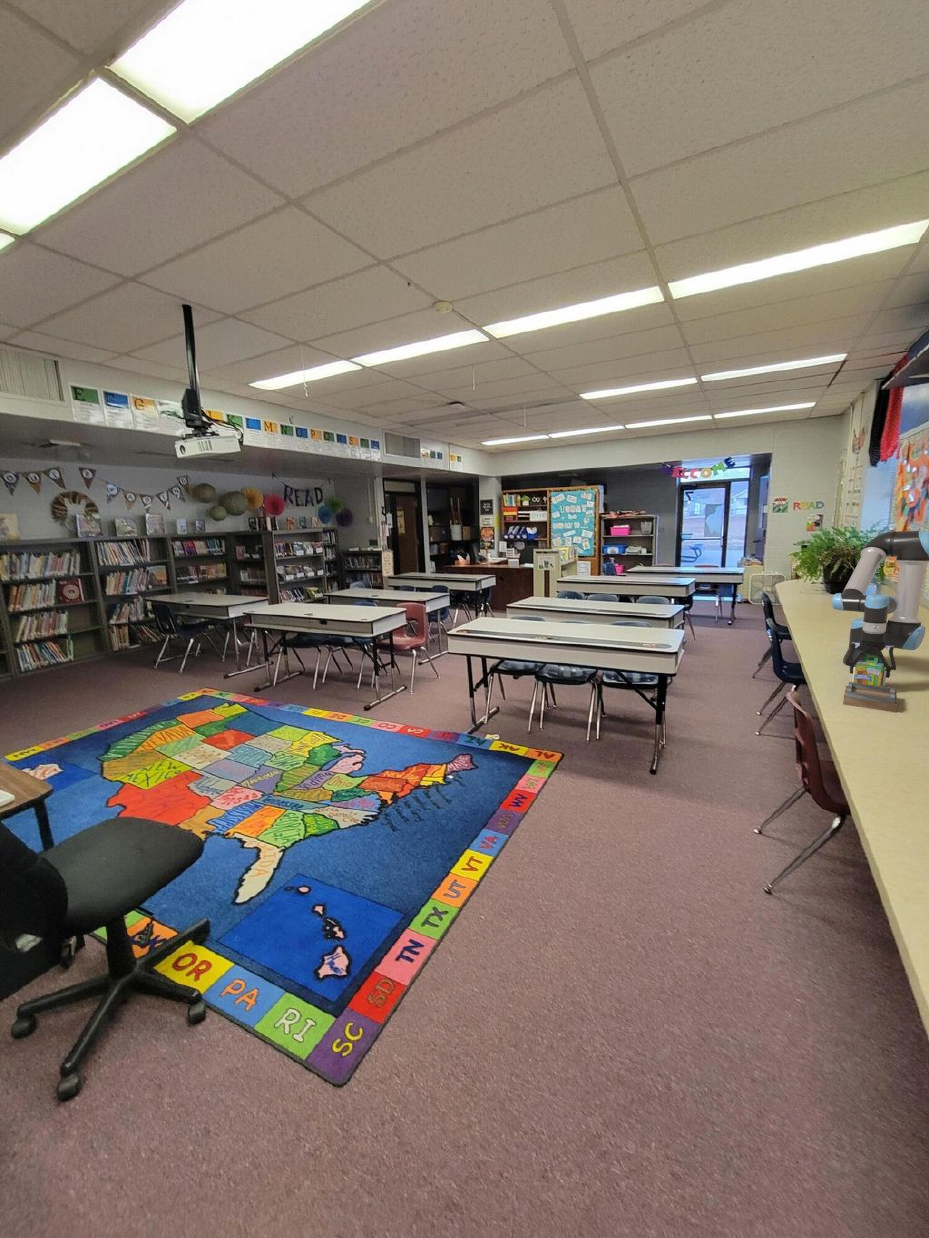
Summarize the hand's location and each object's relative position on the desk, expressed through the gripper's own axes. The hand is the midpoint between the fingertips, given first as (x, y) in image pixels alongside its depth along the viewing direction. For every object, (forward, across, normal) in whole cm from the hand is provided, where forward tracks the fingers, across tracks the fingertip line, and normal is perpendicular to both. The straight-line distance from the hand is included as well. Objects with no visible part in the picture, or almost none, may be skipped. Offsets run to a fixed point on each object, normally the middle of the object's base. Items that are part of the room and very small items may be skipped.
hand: (868, 682), depth 210 cm
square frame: (+3, +1, -17) cm, 17 cm away
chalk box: (+3, 0, 0) cm, 3 cm away
